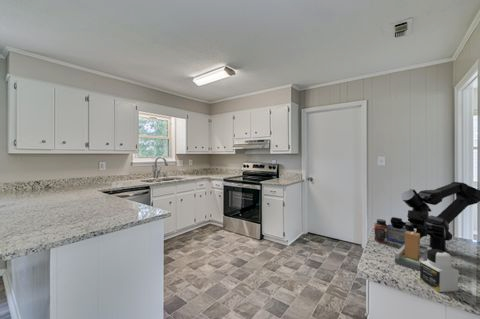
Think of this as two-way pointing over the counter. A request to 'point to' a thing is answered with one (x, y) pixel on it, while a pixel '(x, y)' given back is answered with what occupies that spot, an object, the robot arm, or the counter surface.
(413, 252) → the fader knob
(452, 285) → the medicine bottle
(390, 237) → the medicine box
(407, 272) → the counter surface
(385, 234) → the supplement bottle
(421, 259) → the fader console
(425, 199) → the robot arm
